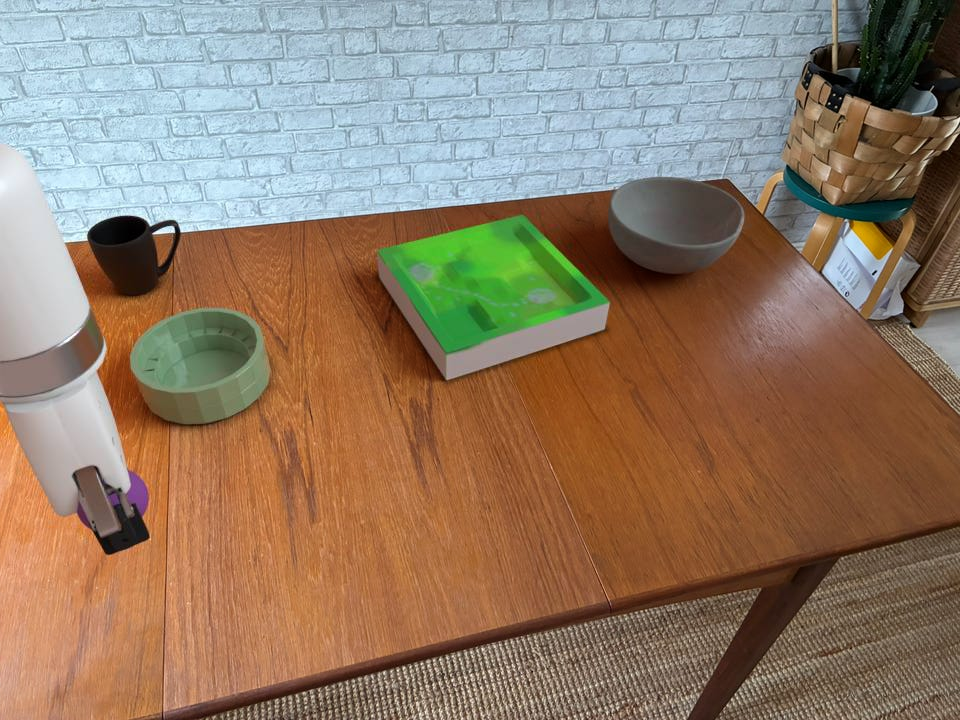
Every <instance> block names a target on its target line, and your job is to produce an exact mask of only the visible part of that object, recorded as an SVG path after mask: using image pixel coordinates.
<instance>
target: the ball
mask: <svg viewBox="0 0 960 720" xmlns="http://www.w3.org/2000/svg"><path fill="white" fill-rule="evenodd" d="M128 474H129V479H130V483H131V486H130V489H129V490H128V492H127V493H126V494H127V496H128V498H129V501H130V503H131V504H133V503H136V506H137V508H138V510H139V512H140V514H141V516H142V518H143V517H144V515H145V514H146V511H147V509H148V506H149V501H150V496H149V495H150V493H149V489H148V487H147V484H146V483H145V481H144V480H143V479H142V477H141V476H139V474H136V472H134V471H132V470H130V469H128ZM102 481H104V480H102ZM109 499H110V501H111V504H112V506H114V505H117V504H119V503H120V502H119V500H118V497H117V495H116V493H114V494H112V495H109ZM76 514H77V517H78V518H79V520H80V522H81V523H82V524H83V525H84V526H85V527H86V528H88V529H89V530H91V531H92V529H91V528H90V526H89V522H88V518H87V516H86V514H85V512H84V510H83V508H82V506H81V504H80V502H78V509H77V513H76Z"/></svg>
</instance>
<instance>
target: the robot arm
mask: <svg viewBox="0 0 960 720" xmlns="http://www.w3.org/2000/svg"><path fill="white" fill-rule="evenodd" d="M107 348H108V347H107V342H106V340H105V337H104V334H103V332H102V329H101V327H100V325H99V323H98V320H97V318H96V315H95V313H94V310H93V308H92V305H91V303H90V301H89V298H88V296H87V294H86V291H85V289H84V287H83V283H82V281H81V279H80V277H79V274H78V272H77V269H76V266H75V264H74V262H73V259H72V257H71V255H70V253H69V249H68V248H67V245H66V243H65V240H64V238H63V236H62V232H61V230H60V228H59V226H58V224H57V220H56V218H55V216H54V213H53V211H52V209H51V205H50V204H49V201H48V199H47V197H46V194H45V192H44V189H43V187H42V184H41V182H40V180H39V177H38V176H37V174H36V171H35V170H34V168H33V166H32V164H31V163H30V161H29V160H28V159H27V158H26V156H24V155H23V154H22V153H21V152H20V151H19V150H17V149H16V148H14V147H12V146H11V145H9V144H8V143H5V142H2V141H0V403H2V406H3V408H4V411H5V413H6V416H7V418H8V421H9V423H10V426H11V428H12V430H13V433H14V435H15V437H16V439H17V441H18V444H19V446H20V448H21V450H22V452H23V454H24V456H25V457H26V460H27V462H28V464H29V466H30V468H31V470H32V472H33V473H34V475H35V477H36V480H37V481H38V483H39V486H40V487H41V489H42V491H43V492H44V495H45V496H46V498H47V500H48V502H49V504H50V506H51V508H52V510H53V511H54V513H55V515H57V516H59V517H62V518H66V517H68V516H72V515H75V514H77V509H78V502H80V504H81V506H82V508H83V510H84V512H85V514H86V516H87V518H88V522H89V526H90V528H91V529H92V530H91V529H90V530H91V531H92V533H93V534H94V537H95V538H96V540H97V542H98V544H99V545H100V547H101V549H102V550H103V552H104V554H105V555H106V556H111V555H114V554H116V553H119V552H122V551H126V550H128V549H131V548H133V547H134V546H137V545H139V544H141V543H144V542H147V541H148V540H149V539H150V538H151V534H150V532H149V529H148V527H147V525H146V522H145V520H144V518H143V517H142V516H141V514H140V512H139V510H138V508H137V506H136V503H133V504H131V503H130V501H129V498H128V496H127V494H126V493H127V492H128V490H129V489H130V486H131V483H130V479H129V474H128V470H129V467H128V466H127V461H126V458H125V453H124V449H123V446H122V441H121V437H120V434H119V430H118V426H117V424H116V420H115V417H114V414H113V412H112V408H111V405H110V401H109V400H108V397H107V394H106V391H105V388H104V386H103V384H102V381H101V378H100V377H99V373H98V372H97V371H98V370H99V369H100V367H101V366H102V365H103V363H104V361H105V358H106V355H107ZM102 480H104V481H102ZM114 493H116V495H117V497H118V500H119V502H120V503H119V504H117V505H114V506H112V504H111V501H110V499H109V495H112V494H114Z"/></svg>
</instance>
